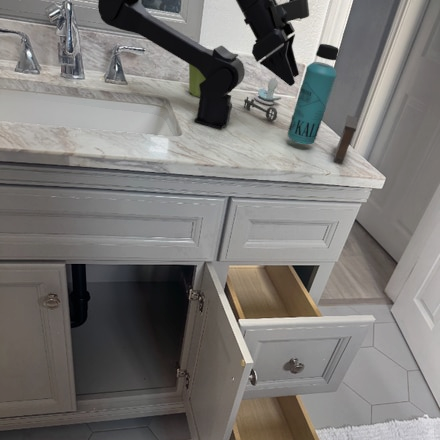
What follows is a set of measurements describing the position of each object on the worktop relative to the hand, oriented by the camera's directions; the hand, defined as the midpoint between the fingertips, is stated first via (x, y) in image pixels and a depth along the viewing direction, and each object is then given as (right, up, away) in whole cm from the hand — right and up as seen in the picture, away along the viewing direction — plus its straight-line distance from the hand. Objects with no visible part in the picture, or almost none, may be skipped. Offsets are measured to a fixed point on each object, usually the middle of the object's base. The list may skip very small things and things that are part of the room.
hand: (294, 80), depth 87 cm
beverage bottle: (+2, -11, +8) cm, 14 cm away
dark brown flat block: (+11, -14, +7) cm, 19 cm away
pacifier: (-3, +9, +31) cm, 32 cm away
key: (-6, +1, +20) cm, 21 cm away
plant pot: (-21, +9, +25) cm, 33 cm away
